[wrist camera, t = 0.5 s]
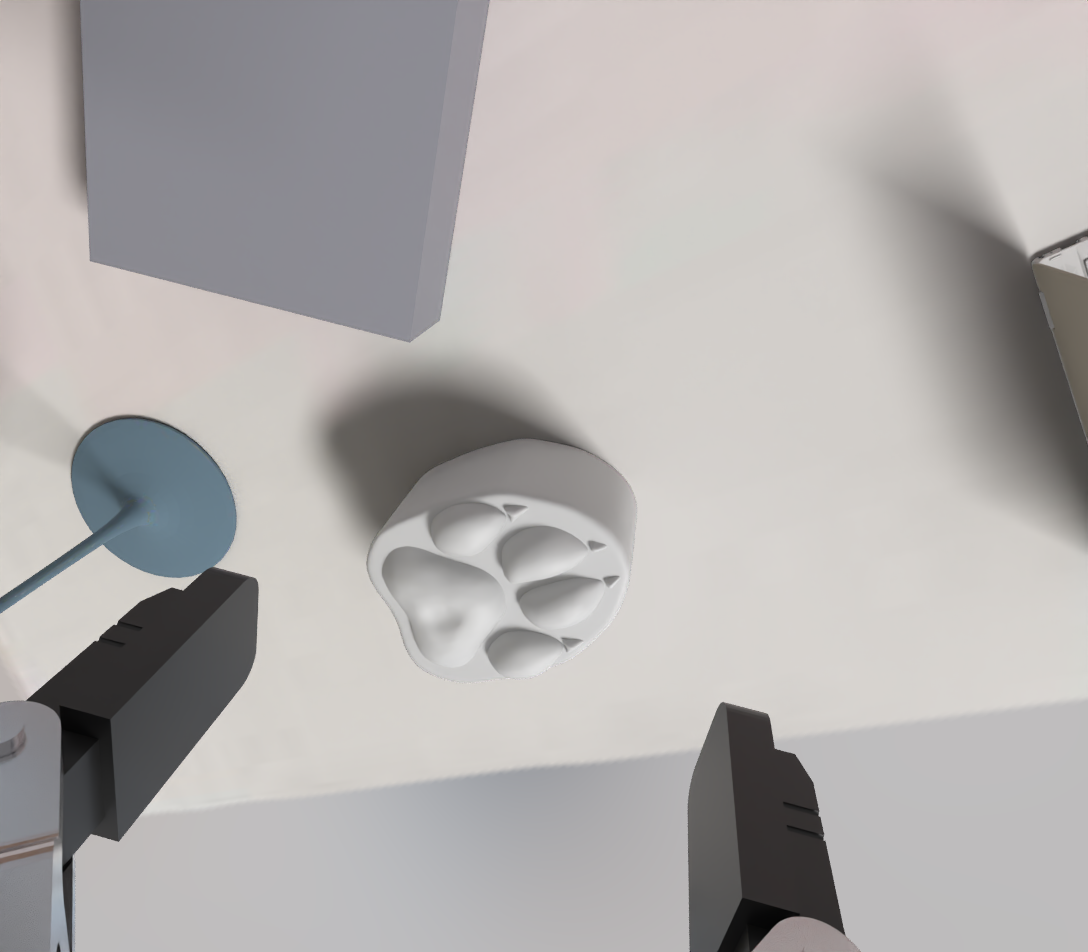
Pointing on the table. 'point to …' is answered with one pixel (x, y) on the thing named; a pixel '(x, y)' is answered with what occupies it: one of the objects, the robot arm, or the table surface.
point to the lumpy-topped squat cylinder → (506, 560)
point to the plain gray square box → (283, 149)
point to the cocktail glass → (146, 503)
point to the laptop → (1068, 314)
